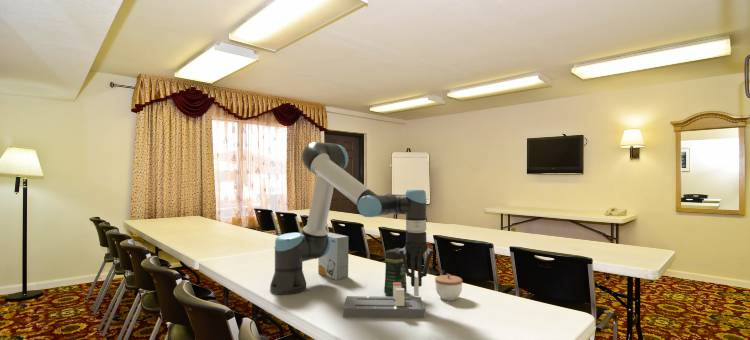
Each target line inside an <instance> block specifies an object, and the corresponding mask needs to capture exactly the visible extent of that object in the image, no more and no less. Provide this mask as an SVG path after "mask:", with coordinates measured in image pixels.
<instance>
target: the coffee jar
mask: <svg viewBox="0 0 750 340" xmlns="http://www.w3.org/2000/svg"><path fill="white" fill-rule="evenodd" d="M400 249H403V248H402V247H401V248H400V247H396V248H393V249H387V250H386V251H385V253H384V261H385V272H384V273H385V274H384V276H385V277H384V287H383V288H384V289H383V291H384V292H383V293H384V294H386V295H387V296H388V297H393V282H401V288H404V294H406V293H407V287H408V285H407V275H406V271H405V267H404V262H403V258H402V256H401V254H400V253H399V250H400ZM405 252H406V254H405V257H406V261H407V258H408V257H407V256H408V255H407V253H408V252H407V250H406V251H405Z"/></svg>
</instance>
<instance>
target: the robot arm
mask: <svg viewBox="0 0 750 340" xmlns="http://www.w3.org/2000/svg"><path fill="white" fill-rule="evenodd" d="M301 161H302V163H303V166H305V168H306V169H307V170H308V171H310V172H311V173H312V174H314V175H316V178H315V183H314V188H313V192H312V197H311V201H310V202H311V203H310V209H309V212H308V217H307V221H306V225H305V226H303V227H302V230H301V233H300V232H288V233H283V234H281V235H279V236H277V237H276V238H275V239H274V240H275V242H274V246H273V247H274V273H273V277H272V279H271V282H270V285H269V286H270V287H269V290H270V292H271V293H272V294H276V295H292V294H293V295H294V294H295V295H296V294H298V293H302V292H304V291H306V290H307V281H306V277H305V275H304V271H303V262H307V261H311V260H317V259H318V258H320V257H322V256H324V255H326V254H327V252H328V251H329V249H330V240H329V239H330V238H329V236H328V235H327V234H328V233H329V232H328V231H327V229H326V228H327V227H326V226H327V222H328V218H329V217H328V216H329V212H330V208H331V204H332V198H333V193H334V188H335V190H338V192H340V193H341V194H342V195H343V196H345V198H347V199H349V200H350V201H351V202H352V203H353V204H354V205H356V206H357V211H358V212H359V215H361V216H362V217H365V218H375V217H380V216H387V215H388V216H389V215H405V230H406V232H405V244H404V247H403V248H402V249H400V250H399V253H400V254H401V256H402V258H403V262H404V267H405V271H406V277H410V285H411V287H413V297H420V296H419V294H420V293H419V292H420V291H419V289H420V288H419V287H422V286H423V285H422V283H423V282H422V278H424V277H427V274H428V270H429V266H430V262H431V258H432V256H433V255H434V250H433V249H431V248H429V246H428V243H427V232H426V231H427V203H428V202H427V193H426V191H425V190H424V189H407V190H406V191H405V194H393V193H383V194H380V195H379V194H378V195H377V193H375V192H373V190H371V189H370V188H369V187H367V186H366V185H364V184H363V183H362V182H360V181H359V180H357V178H355V177H354V176H353V175H351V174H350V173H349V172H348V171H346V170H345V168H347V166H348V164H349V155H348V152H347V151H346V148H345V147H343V146H342V145H340V144H338V143H330V142H319V141H313V142H310V143H308V144H307V145H306V146H305V147H304V148H303V150H302V153H301ZM405 251H406V252H407V253H408V255H409V256H410V270H409V266H408V261H407V260H406V257H405V254H406V252H405ZM425 252H426V258H425V262H424V266H423V267H422V265H423V264H422V263H423V262H422V259H423V257H422V256H424V255H425ZM416 257H417V276H416V275H415V273H416V272H415V268H416V267H415V266H416V265H415V264H416V261H415V259H416Z"/></svg>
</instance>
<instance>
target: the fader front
mask: <svg viewBox="0 0 750 340" xmlns="http://www.w3.org/2000/svg"><path fill="white" fill-rule="evenodd" d="M404 297H405V293H404V288H396V298H395V304H396V306H404Z"/></svg>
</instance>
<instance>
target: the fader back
mask: <svg viewBox="0 0 750 340" xmlns="http://www.w3.org/2000/svg"><path fill="white" fill-rule="evenodd" d="M396 288H401V282H393V296H392V297H393V299H395V298H396Z"/></svg>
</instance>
